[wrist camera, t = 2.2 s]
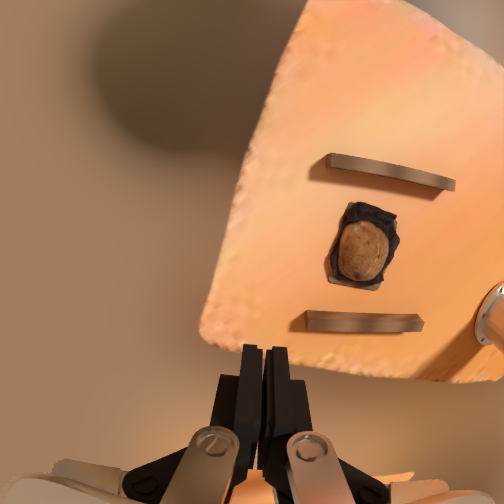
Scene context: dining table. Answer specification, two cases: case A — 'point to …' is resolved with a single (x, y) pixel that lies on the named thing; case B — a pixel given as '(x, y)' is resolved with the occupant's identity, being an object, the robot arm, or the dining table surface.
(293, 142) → the dining table surface
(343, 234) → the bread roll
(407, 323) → the shelf lane
